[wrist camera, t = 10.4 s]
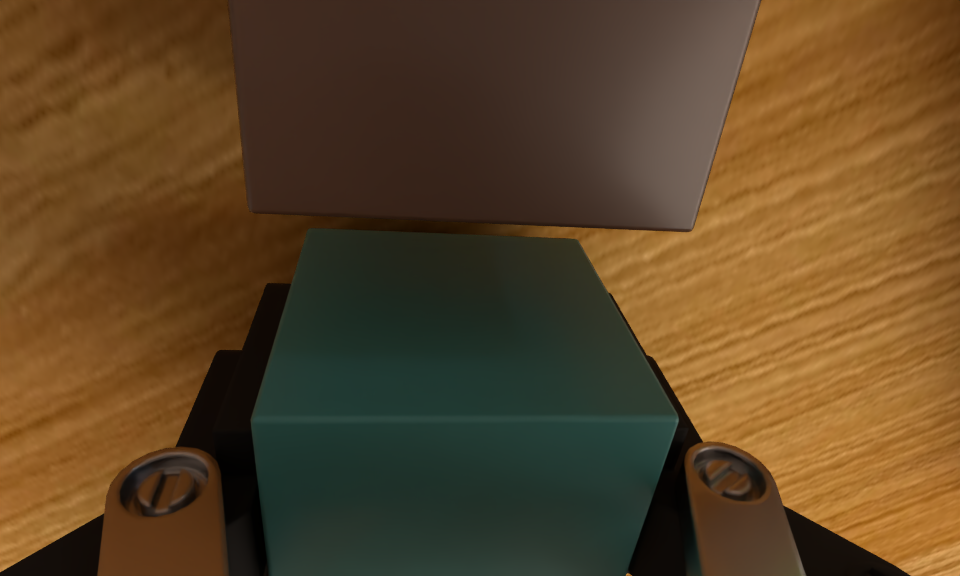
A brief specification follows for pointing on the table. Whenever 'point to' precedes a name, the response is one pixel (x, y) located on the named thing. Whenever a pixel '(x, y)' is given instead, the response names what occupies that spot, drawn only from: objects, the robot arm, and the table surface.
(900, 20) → the table surface
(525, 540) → the teal block
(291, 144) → the block
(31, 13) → the table surface
